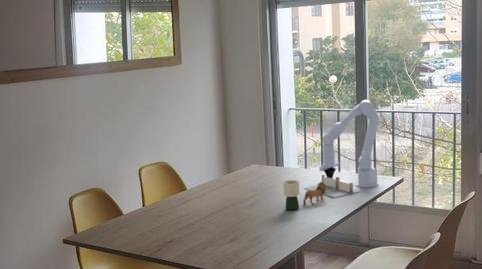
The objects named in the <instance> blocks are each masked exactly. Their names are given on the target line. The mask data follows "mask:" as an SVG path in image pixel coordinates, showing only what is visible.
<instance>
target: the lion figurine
mask: <svg viewBox="0 0 482 269" xmlns="http://www.w3.org/2000/svg"><path fill="white" fill-rule="evenodd" d="M317 185H318V186H317V189H315V190H306V191H305V194H304V199H303V206H305V205H306V204H307V202H306V200H308V199H309V203H310V204H311V205H312V206H313V205H315V203H314V202H313V198H316V201H317V202H319V201H320V202H321V203H324V200H323V198H324V196H325V195H324V194H325V191H326V185H325V183H324V182H322V181H320V182H318V184H317ZM319 197H320V199H319Z"/></svg>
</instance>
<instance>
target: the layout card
mask: <svg viewBox="0 0 482 269" xmlns="http://www.w3.org/2000/svg"><path fill="white" fill-rule="evenodd" d="M317 186H318V184H317V185H313V186H308V187H304V188H303V189H304V190H306V191H308V190H315V189H317ZM357 193H360V191H359V190H355V189H353V193H350V192H347V191H344V190H340V189H336V187H332V186H328V185H326V191H325V194H324V195H323V196H326V197H329V198H333V199H336V198H341V197H344V196H349V195H353V194H357Z"/></svg>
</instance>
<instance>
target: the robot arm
mask: <svg viewBox="0 0 482 269" xmlns="http://www.w3.org/2000/svg"><path fill="white" fill-rule="evenodd" d="M377 112H378V111H377V110H376V108H375V105H374V104H373V103H372V102H371V101H370V99H369V100H368V99H363V100H361V101H360V102H359V103H358V104H357V105H356V106H354V107H353V108H352V109H351V110H350V111H349V112H348V113H347V115H346V116H345V117H344V118H343V119H342V120H341V121H339V122H338V121H337V122H336V123H333V124H332V127H330V129H329V130H327V131H326V133H324V134H323V135H322V136H323V137H322V142H323V145H322V146H323V147H322V151H323V153H322V155H323V156H322V157H323V163H322V165H320V166H319V171H318V172H324V173H325V175H326V176H325V177H329V178H333V179H334V175H335V172H336V170H337V169H336V167H340V162H338V161H336V160H335V158H336V156H335V147H334V146H335V145H334V143H335V140H337V139H338V138H339V137H340V136H341V135H342V133H344V132H345V131H346V126H348V124H349V123H350V122H351V121H353V120H354V119H355V118H356V117H357V116H361V115H362V114H363V115H364V116H366V118H367V119H368V125H367V130H366V133H365V138H364V143H363V148H362V151H361V154H360V155H359V157H358V161H357V162H358V167H357V179H358V180H357V181H358V182H357V183H354V186H356V187H360V188H364V189H366V188H371V187H376V186H379V183H378V172H377V169H376V168H375V167H373V166H372V161H371V160H372V152H373V147H374V143H375V138H376V134H377V130H378V124H379V120H380V117H379V114H378V113H377Z"/></svg>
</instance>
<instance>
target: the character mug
mask: <svg viewBox="0 0 482 269" xmlns="http://www.w3.org/2000/svg"><path fill="white" fill-rule="evenodd" d="M283 195H284V196H285V197H286V199H285V210H290V211H291V210H293V211H295V210H299V208H300V206H299V205H300V204H299V200H298V196H299V195H300V182H299V180H297V179H291V180H290V179H289V180H285V181H283Z"/></svg>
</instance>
